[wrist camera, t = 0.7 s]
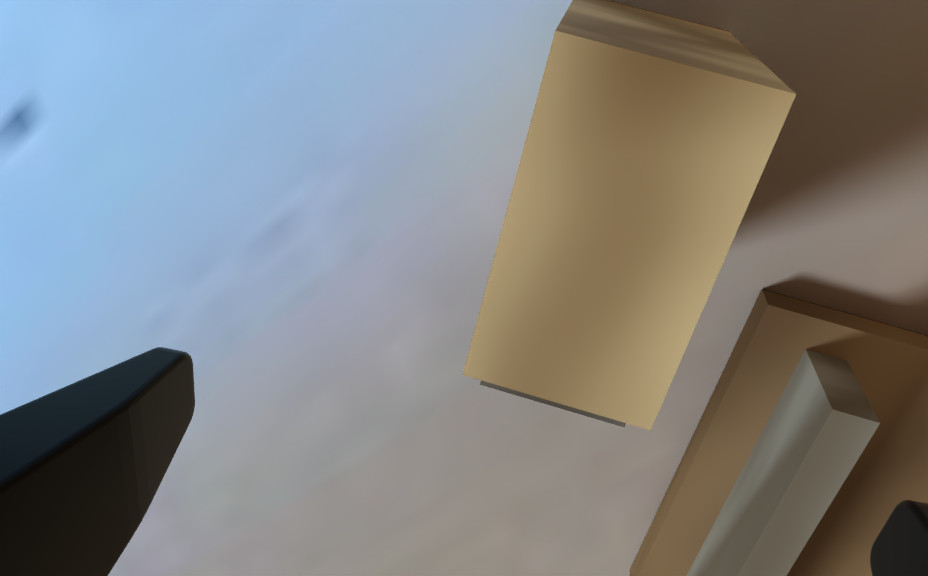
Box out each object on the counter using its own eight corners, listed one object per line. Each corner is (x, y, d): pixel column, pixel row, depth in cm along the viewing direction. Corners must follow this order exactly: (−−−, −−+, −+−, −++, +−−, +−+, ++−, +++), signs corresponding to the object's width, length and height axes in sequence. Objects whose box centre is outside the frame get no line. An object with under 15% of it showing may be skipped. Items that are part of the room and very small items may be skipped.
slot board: (1143, 397, 21) (1250, 492, 17) (929, 662, 27) (977, 775, 23) (762, 289, 22) (790, 359, 18) (629, 570, 27) (631, 666, 24)
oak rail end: (729, 31, 19) (796, 94, 12) (634, 283, 22) (643, 446, 15) (577, -8, 19) (555, 30, 12) (507, 247, 23) (457, 392, 16)
